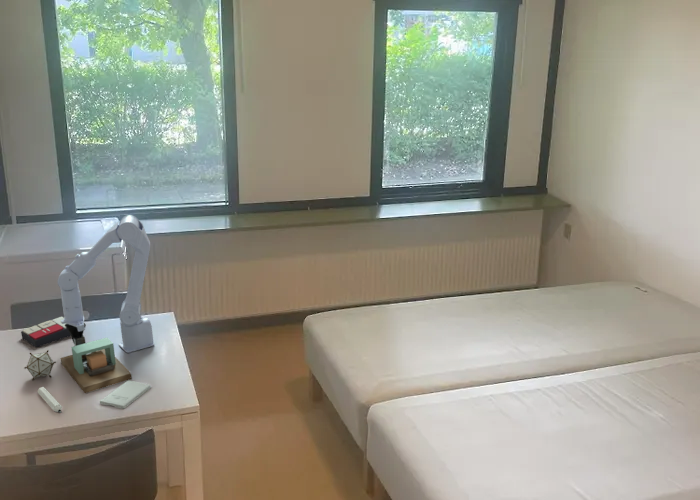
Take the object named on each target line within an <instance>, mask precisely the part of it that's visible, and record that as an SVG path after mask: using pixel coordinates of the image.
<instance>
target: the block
mask: <svg viewBox="0 0 700 500" xmlns="http://www.w3.org/2000/svg"><path fill="white" fill-rule="evenodd" d="M86 358H87V365H88V367H89V368H90V369H91V370H93V369H97V368H100V367H103V366H107V361H106V355H105V354H104V353H103V352H102V351H98V352H95V353H91V354H87V355H86Z"/></svg>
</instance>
